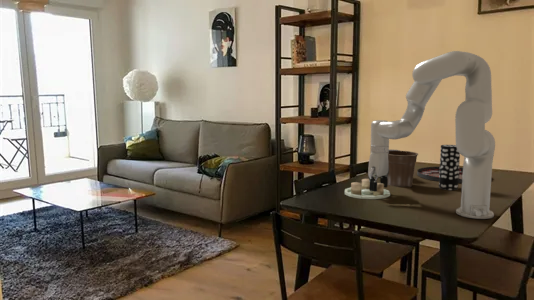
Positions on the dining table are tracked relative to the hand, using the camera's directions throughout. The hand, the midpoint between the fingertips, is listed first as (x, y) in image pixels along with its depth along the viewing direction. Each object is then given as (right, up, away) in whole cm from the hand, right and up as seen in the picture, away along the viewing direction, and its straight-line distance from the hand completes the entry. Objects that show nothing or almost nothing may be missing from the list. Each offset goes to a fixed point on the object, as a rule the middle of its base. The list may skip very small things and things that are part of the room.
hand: (378, 189), depth 185 cm
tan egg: (-9, -3, +2) cm, 10 cm away
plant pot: (+16, -1, +23) cm, 28 cm away
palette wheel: (+51, +2, +45) cm, 68 cm away
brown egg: (0, -3, 0) cm, 3 cm away
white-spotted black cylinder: (+37, -1, +17) cm, 41 cm away
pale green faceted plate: (-4, -3, +4) cm, 7 cm away
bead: (-3, -2, +9) cm, 10 cm away
